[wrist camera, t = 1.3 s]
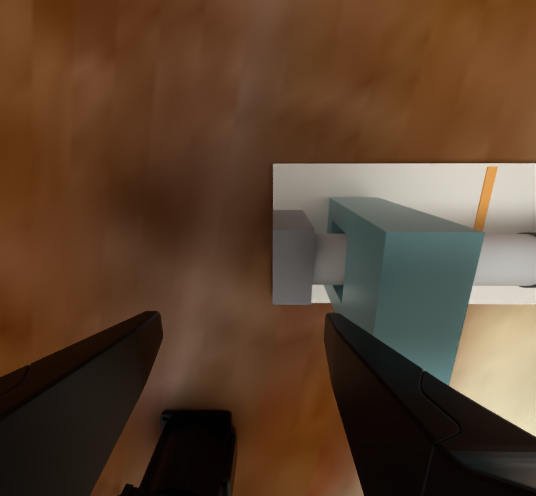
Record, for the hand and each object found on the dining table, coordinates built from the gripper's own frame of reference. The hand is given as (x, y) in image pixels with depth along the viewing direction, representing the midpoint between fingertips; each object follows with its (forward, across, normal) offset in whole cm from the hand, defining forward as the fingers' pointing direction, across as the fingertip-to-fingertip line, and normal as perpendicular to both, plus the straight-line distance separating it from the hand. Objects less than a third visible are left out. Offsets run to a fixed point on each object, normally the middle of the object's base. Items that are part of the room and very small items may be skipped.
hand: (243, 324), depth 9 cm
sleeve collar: (+9, -6, 0) cm, 11 cm away
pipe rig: (+12, -11, 0) cm, 16 cm away
